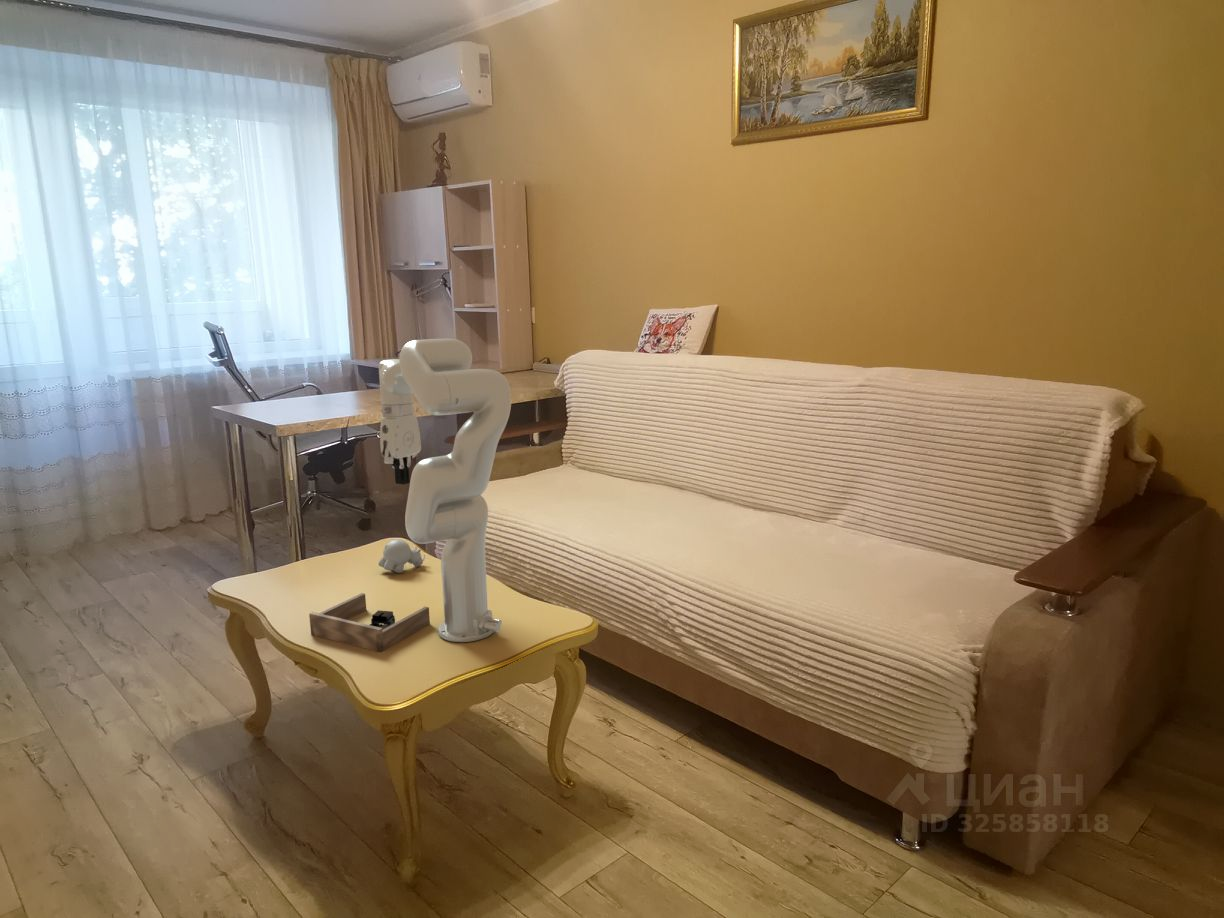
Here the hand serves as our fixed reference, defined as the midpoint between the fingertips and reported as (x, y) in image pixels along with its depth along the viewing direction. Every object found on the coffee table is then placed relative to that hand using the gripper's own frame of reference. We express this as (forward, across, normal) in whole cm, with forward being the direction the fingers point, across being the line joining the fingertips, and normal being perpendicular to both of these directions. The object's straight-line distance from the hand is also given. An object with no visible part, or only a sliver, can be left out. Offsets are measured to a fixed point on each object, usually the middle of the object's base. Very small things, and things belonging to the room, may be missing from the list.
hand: (402, 483), depth 200 cm
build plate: (+28, -24, -13) cm, 39 cm away
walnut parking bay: (+27, -24, -10) cm, 38 cm away
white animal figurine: (+27, +9, +10) cm, 30 cm away
